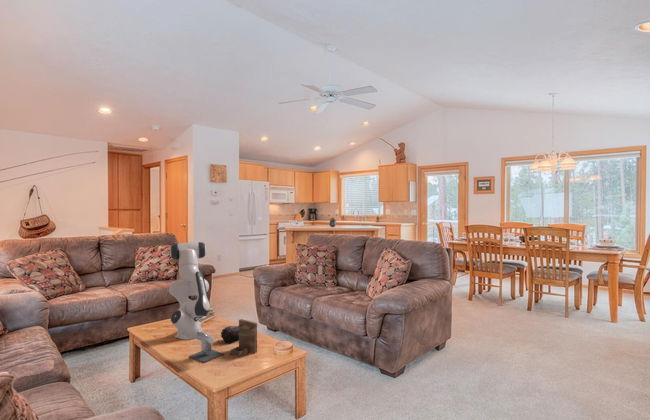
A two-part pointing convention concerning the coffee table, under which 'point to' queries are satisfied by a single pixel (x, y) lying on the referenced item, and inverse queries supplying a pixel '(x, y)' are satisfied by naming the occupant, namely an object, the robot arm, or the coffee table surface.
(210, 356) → the rubber mat
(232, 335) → the dark porous rock
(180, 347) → the coffee table surface
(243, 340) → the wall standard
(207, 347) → the light gray square block
